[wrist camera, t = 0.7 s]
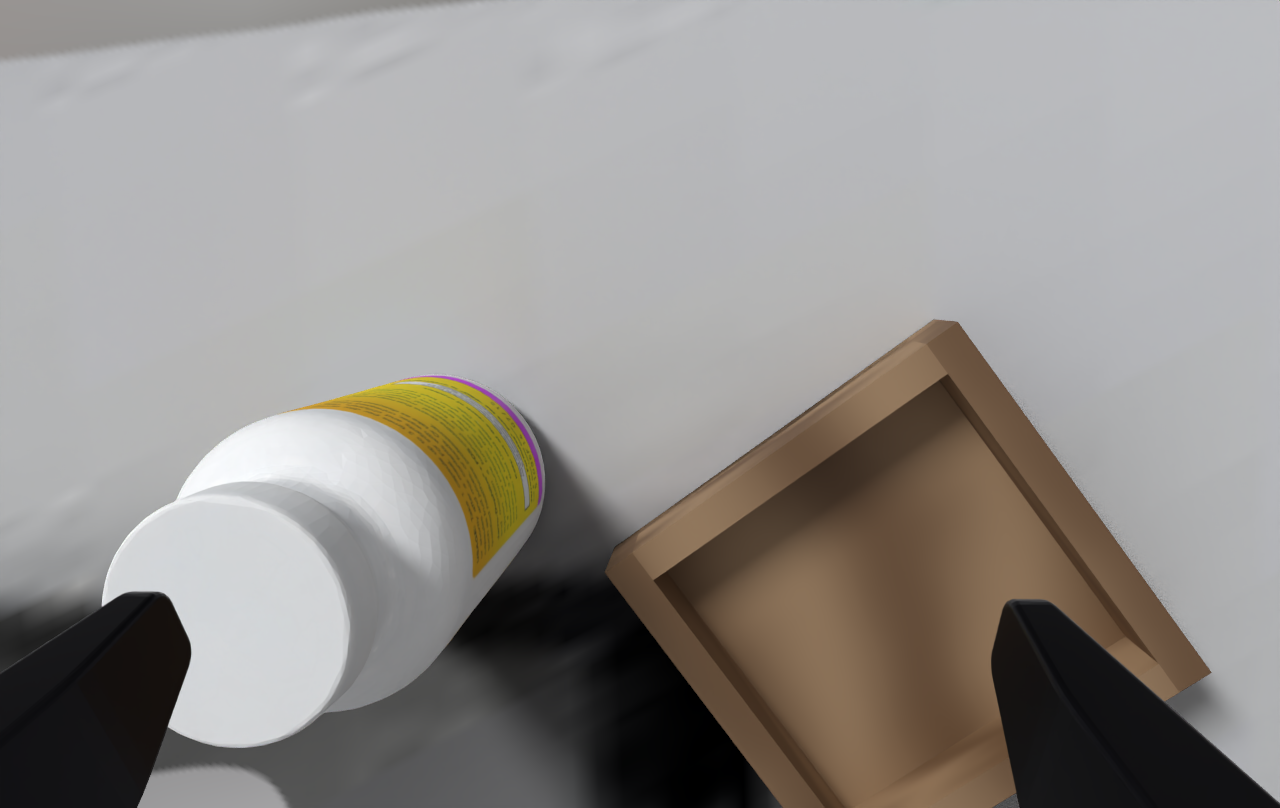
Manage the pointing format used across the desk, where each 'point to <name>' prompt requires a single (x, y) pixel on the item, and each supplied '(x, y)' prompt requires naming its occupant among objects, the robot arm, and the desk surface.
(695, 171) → the desk surface
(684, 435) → the desk surface
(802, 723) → the walnut tray
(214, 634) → the supplement bottle
